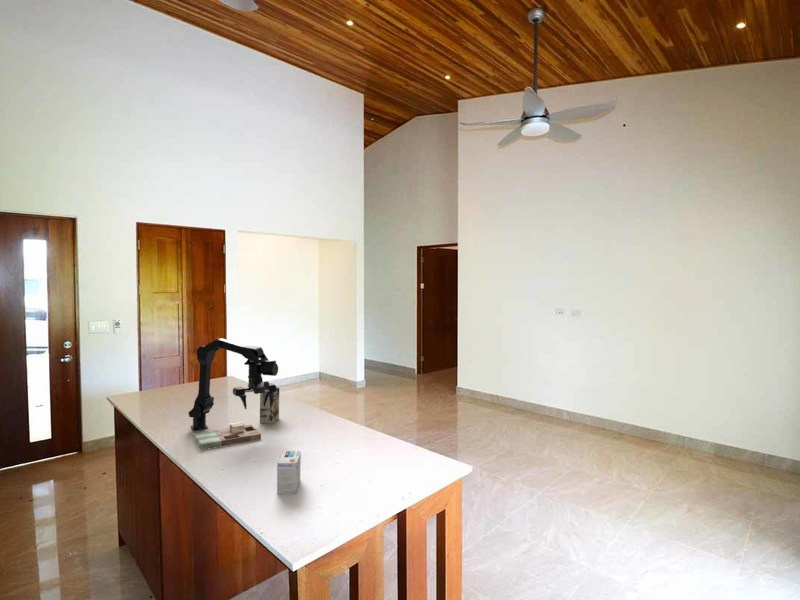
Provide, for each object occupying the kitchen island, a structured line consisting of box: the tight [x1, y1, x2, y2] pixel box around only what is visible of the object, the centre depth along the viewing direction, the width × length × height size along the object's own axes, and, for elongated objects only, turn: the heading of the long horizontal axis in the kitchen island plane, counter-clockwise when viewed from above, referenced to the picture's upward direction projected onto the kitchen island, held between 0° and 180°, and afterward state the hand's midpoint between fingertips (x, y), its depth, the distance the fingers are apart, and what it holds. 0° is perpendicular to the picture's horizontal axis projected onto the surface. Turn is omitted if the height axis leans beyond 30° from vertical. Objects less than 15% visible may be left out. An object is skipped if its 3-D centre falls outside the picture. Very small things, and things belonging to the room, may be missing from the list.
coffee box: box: [259, 387, 280, 424], centre depth 227 cm, size 9×6×16 cm
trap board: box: [193, 424, 262, 451], centre depth 200 cm, size 15×25×2 cm, turn 125°
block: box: [229, 421, 245, 433], centre depth 204 cm, size 5×5×3 cm
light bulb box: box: [276, 450, 302, 495], centre depth 156 cm, size 11×7×11 cm, turn 5°
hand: (254, 407), depth 208 cm, fingers open, 8 cm apart
